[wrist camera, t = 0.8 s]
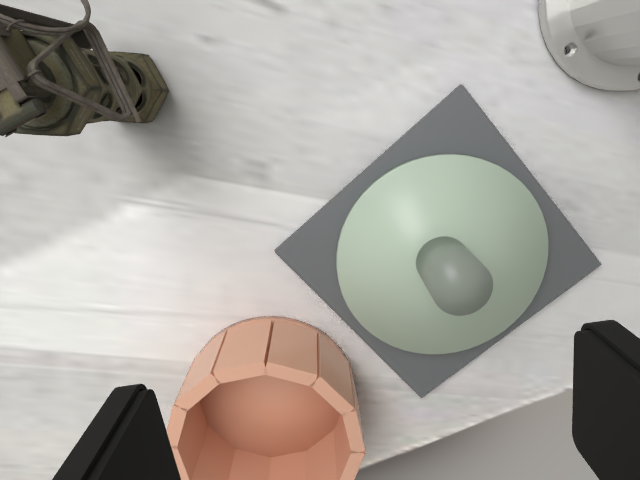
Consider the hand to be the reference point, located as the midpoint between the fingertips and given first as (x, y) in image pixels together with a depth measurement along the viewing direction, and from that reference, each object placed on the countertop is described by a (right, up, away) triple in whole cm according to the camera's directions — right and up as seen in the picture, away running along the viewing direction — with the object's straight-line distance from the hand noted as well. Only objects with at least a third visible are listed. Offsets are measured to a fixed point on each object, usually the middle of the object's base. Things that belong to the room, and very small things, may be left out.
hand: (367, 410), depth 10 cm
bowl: (-5, -9, +29) cm, 31 cm away
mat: (+8, +2, +26) cm, 27 cm away
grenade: (-14, +16, +22) cm, 30 cm away
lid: (+8, +2, +25) cm, 27 cm away
